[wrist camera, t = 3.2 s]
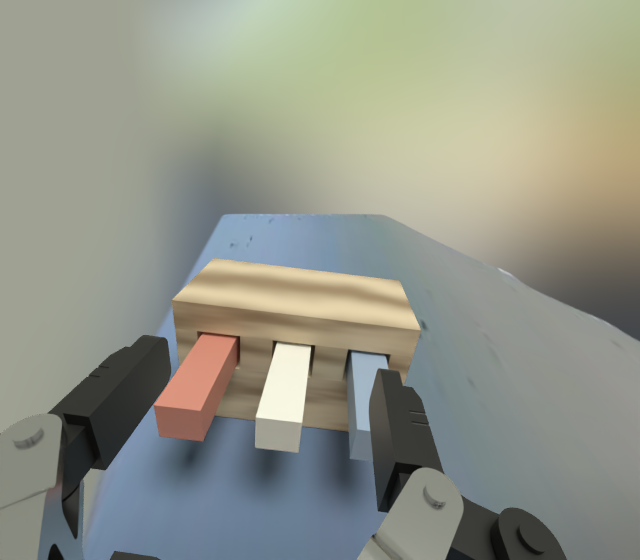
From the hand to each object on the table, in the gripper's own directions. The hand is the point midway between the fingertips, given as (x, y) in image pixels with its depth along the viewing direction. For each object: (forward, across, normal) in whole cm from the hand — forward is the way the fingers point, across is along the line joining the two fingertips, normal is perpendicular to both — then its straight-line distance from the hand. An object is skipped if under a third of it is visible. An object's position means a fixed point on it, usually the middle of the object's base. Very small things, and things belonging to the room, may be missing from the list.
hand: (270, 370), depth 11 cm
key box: (+18, 0, +20) cm, 27 cm away
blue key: (+11, -7, +13) cm, 18 cm away
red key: (+11, +7, +13) cm, 18 cm away
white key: (+11, 0, +13) cm, 17 cm away
